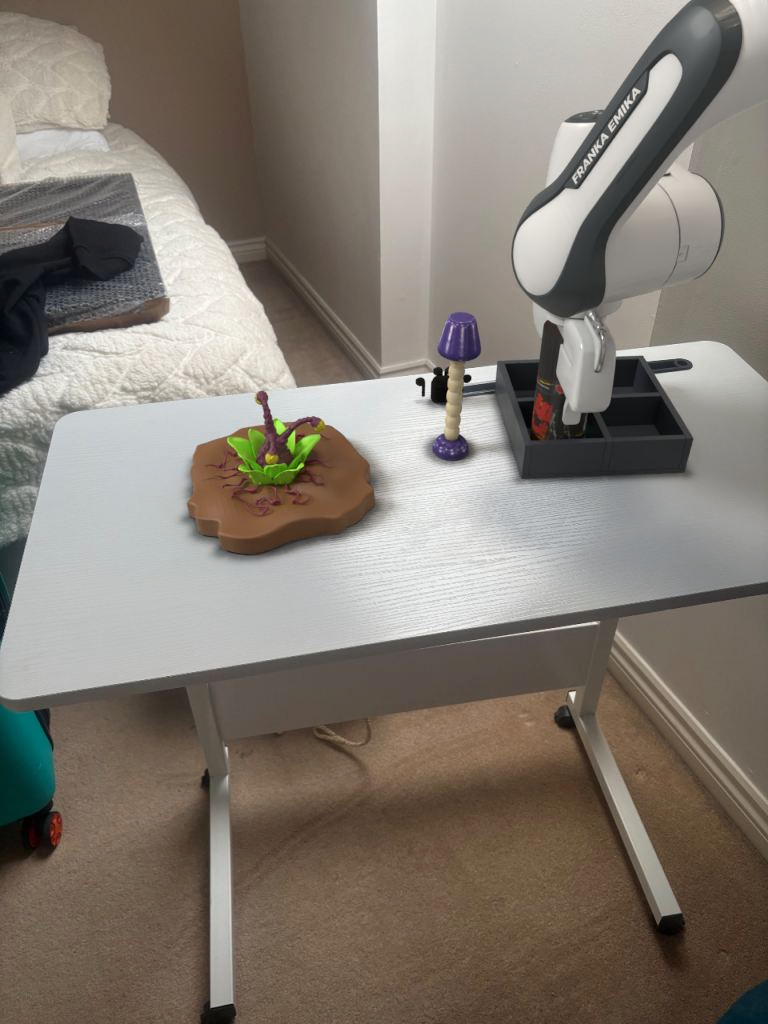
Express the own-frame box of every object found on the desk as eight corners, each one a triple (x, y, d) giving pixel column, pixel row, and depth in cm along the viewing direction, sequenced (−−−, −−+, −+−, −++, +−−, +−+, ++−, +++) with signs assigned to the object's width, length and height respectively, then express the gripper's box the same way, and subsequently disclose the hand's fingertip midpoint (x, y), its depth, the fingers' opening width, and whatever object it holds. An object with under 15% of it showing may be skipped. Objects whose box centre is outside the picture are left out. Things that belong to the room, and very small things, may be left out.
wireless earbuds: (469, 396, 105) (471, 361, 102) (472, 407, 103) (475, 371, 100) (414, 400, 105) (415, 365, 102) (417, 411, 103) (418, 375, 100)
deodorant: (585, 462, 93) (606, 341, 83) (532, 462, 93) (547, 341, 83) (577, 432, 97) (596, 314, 88) (526, 432, 97) (540, 314, 88)
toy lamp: (446, 433, 99) (452, 303, 88) (480, 446, 97) (491, 314, 86) (425, 453, 96) (429, 320, 85) (460, 466, 94) (468, 332, 83)
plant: (338, 424, 101) (334, 340, 93) (395, 521, 86) (395, 431, 79) (172, 458, 95) (154, 372, 88) (204, 567, 81) (185, 476, 74)
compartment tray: (636, 387, 107) (643, 355, 104) (684, 472, 93) (693, 438, 90) (494, 392, 106) (497, 360, 103) (521, 479, 92) (525, 445, 89)
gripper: (641, 331, 75) (615, 456, 83) (585, 244, 91) (568, 357, 99) (572, 333, 74) (553, 458, 83) (528, 246, 90) (516, 359, 99)
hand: (561, 402), depth 91 cm, fingers closed on deodorant, 6 cm apart
